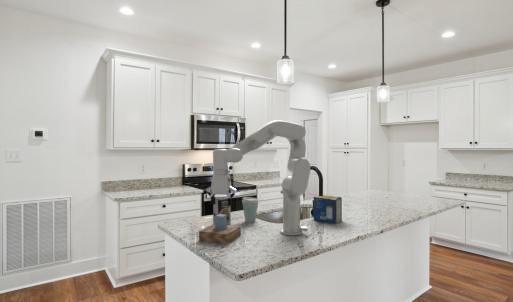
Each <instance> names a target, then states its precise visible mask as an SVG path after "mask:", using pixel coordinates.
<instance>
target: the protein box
mask: <svg viewBox="0 0 513 302" xmlns="http://www.w3.org/2000/svg"><path fill="white" fill-rule="evenodd" d="M322 195H323V196H319V195H316V196H313V221H315V222H321V223H327V224H331V225H332V224H333V225H335V224H338V223H340V222H342V221H343V220H342V217H343V216H342V215H343V213H342V212H343V211H342V210H343V208H342V207H343V203H342V202H343V201H342V200H343V199H342V196H333V195H324V194H322Z"/></svg>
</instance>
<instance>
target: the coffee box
mask: <svg viewBox="0 0 513 302" xmlns="http://www.w3.org/2000/svg"><path fill="white" fill-rule="evenodd" d="M215 202H216V204H214V205H212V206H213V207H212V208H213V211H212V212H213V214H212V215H213V216H212V225H213V224H215V216H216V215H218V214H223V215H227V225H232V224H231V218H232V217H231V216H232V215H231V210H232V209H231V207H232V205H231V206H228V197H220V198H219V197H217V198H215Z"/></svg>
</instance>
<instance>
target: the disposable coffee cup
mask: <svg viewBox="0 0 513 302" xmlns="http://www.w3.org/2000/svg"><path fill="white" fill-rule="evenodd" d="M241 202H242V207H243V216H244V221H245V222H246V223H255V222H256V219H257V211H258V205H259V200H258V198H256V197H249V196H248V197H247V196H246V197H242V200H241Z"/></svg>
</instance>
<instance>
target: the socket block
mask: <svg viewBox="0 0 513 302" xmlns="http://www.w3.org/2000/svg"><path fill="white" fill-rule="evenodd" d="M241 228H242V227H241V226H240V225H232V224H230V225H227V229H226V230H224V231H219V230H215V224H213V223H212V224H211V225H208V226H206V227H204V228H203V229H200V230H199V231H198V241H199V242H205V243H212V244H220V245H226V246H227V245H229V244H230V243H232V242H234V241H235V240H236V239H238V238H239V237H241V233H242V232H241V231H242V229H241Z"/></svg>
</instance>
